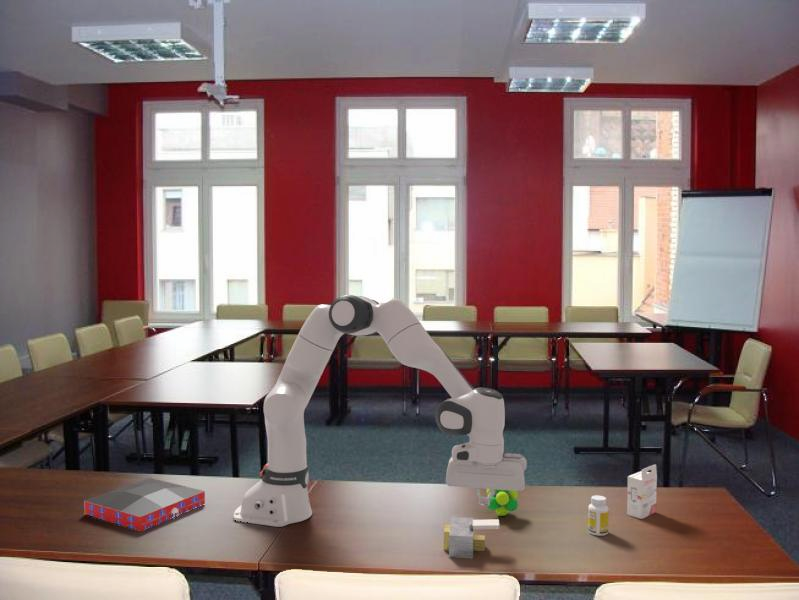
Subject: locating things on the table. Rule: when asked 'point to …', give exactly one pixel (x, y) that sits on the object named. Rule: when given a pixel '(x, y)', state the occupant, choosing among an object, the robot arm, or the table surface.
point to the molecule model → (503, 501)
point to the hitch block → (461, 538)
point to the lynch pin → (477, 540)
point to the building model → (144, 503)
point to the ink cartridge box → (642, 493)
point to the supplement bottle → (598, 516)
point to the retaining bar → (484, 524)
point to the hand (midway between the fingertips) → (484, 504)
